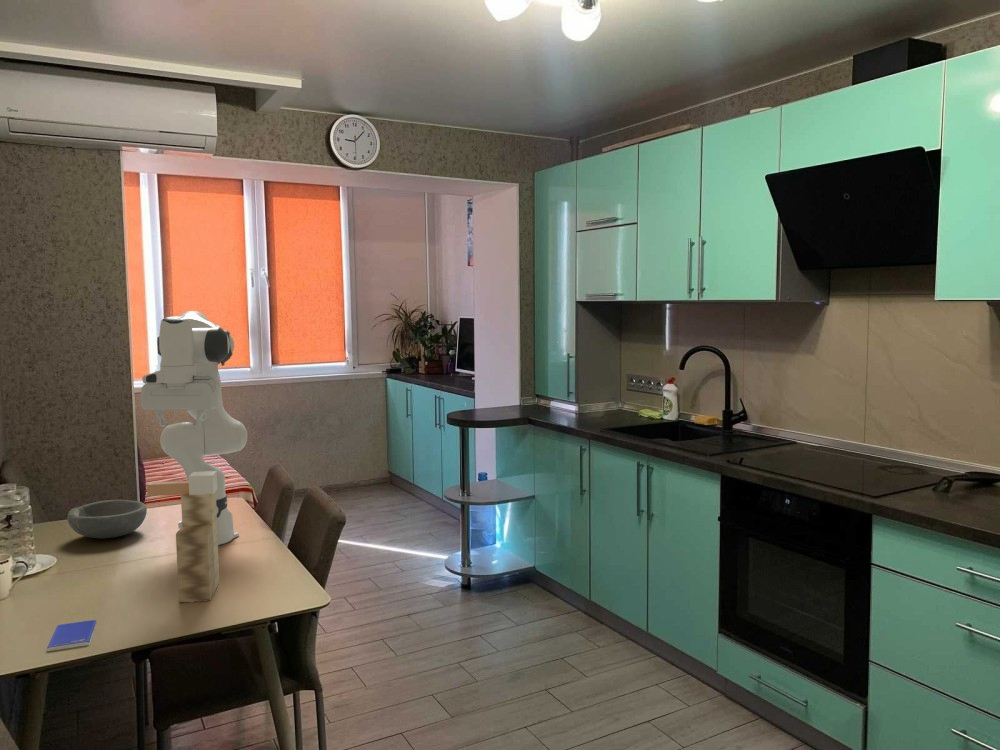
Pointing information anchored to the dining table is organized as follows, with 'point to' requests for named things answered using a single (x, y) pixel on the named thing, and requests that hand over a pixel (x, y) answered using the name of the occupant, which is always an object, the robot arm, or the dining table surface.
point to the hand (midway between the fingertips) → (180, 426)
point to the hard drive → (72, 635)
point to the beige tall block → (197, 548)
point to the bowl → (107, 518)
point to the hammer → (186, 485)
